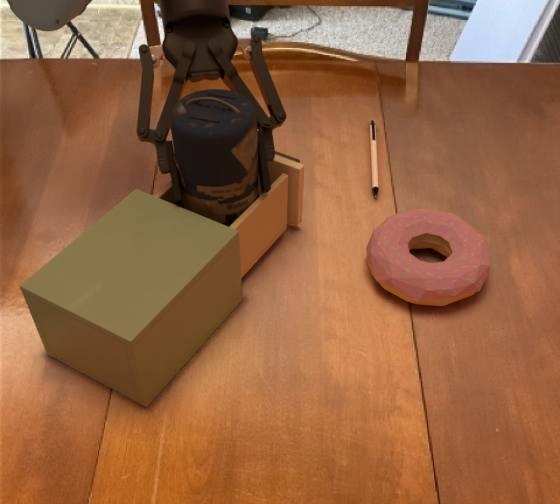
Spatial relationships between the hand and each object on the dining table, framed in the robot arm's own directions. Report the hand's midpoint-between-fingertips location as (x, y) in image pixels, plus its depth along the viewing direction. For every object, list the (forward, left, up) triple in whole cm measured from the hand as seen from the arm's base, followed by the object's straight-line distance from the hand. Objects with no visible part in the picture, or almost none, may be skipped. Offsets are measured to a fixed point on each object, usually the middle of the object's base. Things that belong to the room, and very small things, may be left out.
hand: (222, 196), depth 78 cm
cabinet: (-2, -14, -11) cm, 17 cm away
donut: (+22, +12, -11) cm, 27 cm away
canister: (-2, +2, -8) cm, 9 cm away
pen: (+6, +30, -11) cm, 33 cm away
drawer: (-2, +5, -10) cm, 11 cm away
